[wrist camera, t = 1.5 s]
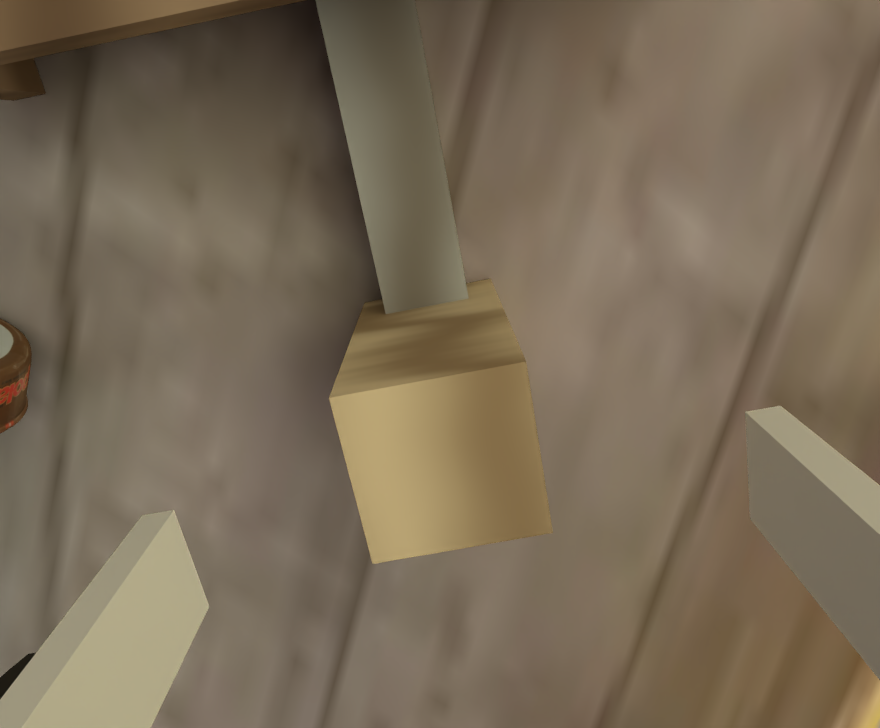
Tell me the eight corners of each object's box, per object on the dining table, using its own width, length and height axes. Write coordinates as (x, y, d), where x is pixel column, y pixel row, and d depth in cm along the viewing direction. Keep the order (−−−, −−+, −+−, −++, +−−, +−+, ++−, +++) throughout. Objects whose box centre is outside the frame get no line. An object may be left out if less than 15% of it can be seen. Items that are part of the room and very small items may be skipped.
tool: (391, 417, 28) (372, 563, 18) (242, -223, 21) (86, -520, 11) (510, 396, 28) (552, 532, 18) (399, -260, 21) (376, -593, 11)
